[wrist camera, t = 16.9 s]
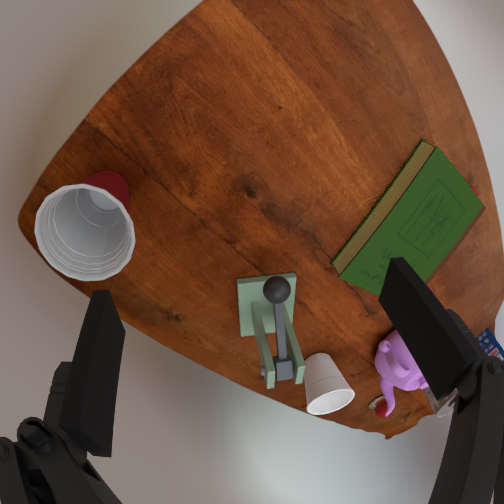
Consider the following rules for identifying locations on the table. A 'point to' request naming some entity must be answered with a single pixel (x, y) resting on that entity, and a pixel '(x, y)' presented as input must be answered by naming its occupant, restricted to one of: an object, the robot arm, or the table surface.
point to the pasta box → (490, 344)
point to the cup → (325, 385)
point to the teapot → (397, 368)
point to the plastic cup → (87, 227)
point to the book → (412, 222)
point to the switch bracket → (268, 324)
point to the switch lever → (279, 324)
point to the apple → (380, 406)
